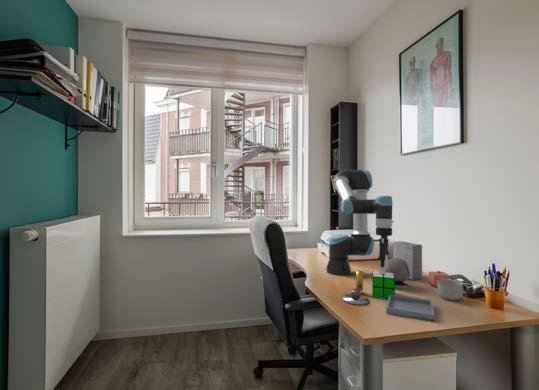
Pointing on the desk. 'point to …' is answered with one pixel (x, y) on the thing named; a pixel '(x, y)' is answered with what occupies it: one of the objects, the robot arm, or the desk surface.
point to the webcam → (398, 272)
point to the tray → (410, 307)
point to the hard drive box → (410, 257)
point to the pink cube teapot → (437, 277)
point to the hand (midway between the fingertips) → (383, 270)
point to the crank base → (355, 300)
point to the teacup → (450, 289)
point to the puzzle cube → (383, 285)
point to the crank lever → (358, 285)
